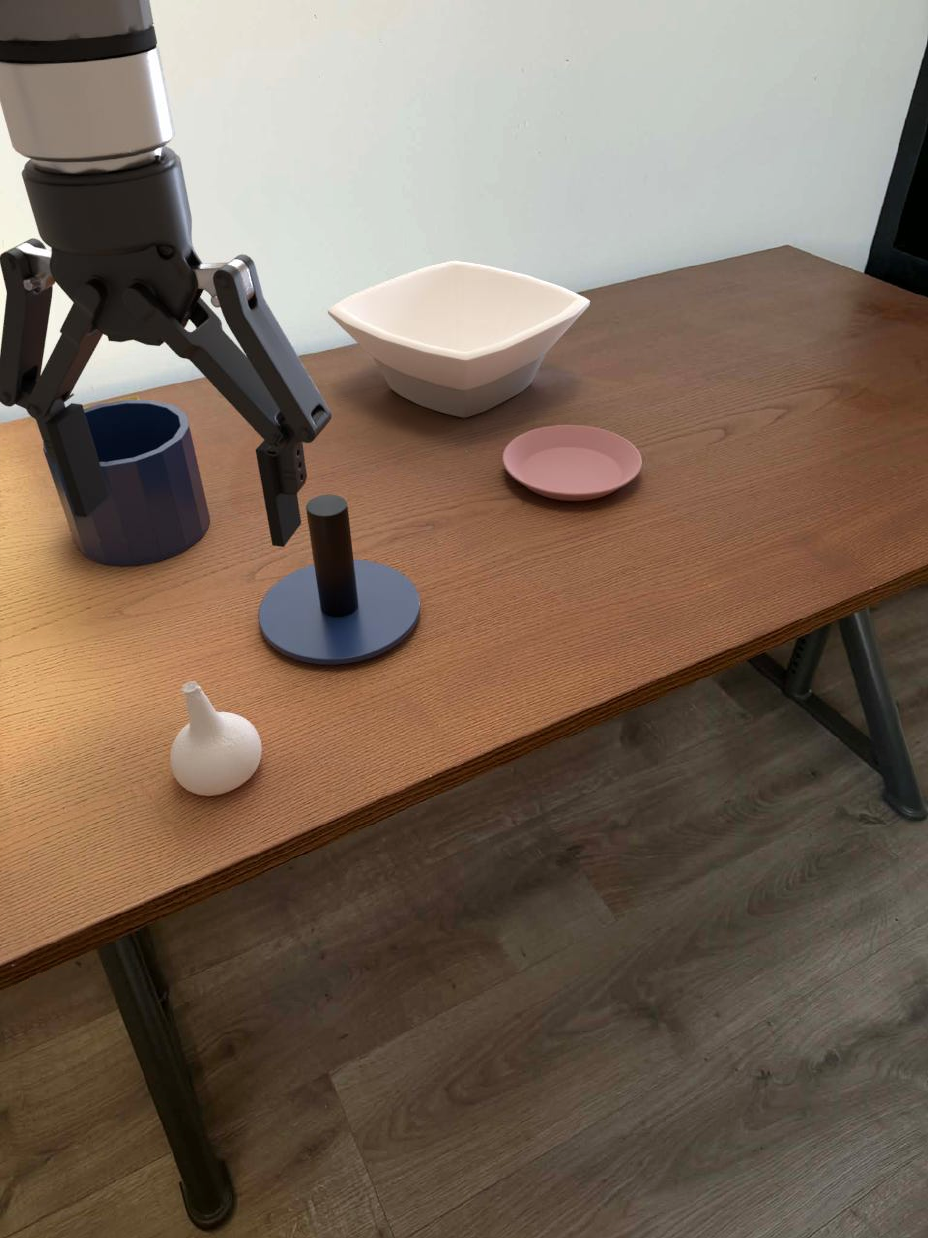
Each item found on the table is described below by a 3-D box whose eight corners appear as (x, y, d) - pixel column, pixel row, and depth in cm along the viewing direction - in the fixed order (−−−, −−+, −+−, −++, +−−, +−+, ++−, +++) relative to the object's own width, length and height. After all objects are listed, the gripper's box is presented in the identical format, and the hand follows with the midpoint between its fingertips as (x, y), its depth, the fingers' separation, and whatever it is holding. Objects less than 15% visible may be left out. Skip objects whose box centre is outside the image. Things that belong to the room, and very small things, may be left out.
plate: (612, 524, 90) (614, 506, 89) (479, 491, 95) (479, 474, 94) (657, 457, 100) (660, 440, 99) (534, 430, 105) (535, 414, 104)
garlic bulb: (257, 803, 64) (238, 720, 59) (166, 805, 64) (138, 722, 59) (270, 736, 69) (253, 654, 64) (185, 738, 69) (162, 656, 64)
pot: (77, 577, 85) (42, 477, 78) (75, 507, 94) (43, 412, 87) (217, 550, 88) (195, 451, 81) (201, 485, 97) (180, 390, 90)
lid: (275, 687, 73) (252, 571, 66) (248, 588, 83) (226, 478, 76) (441, 648, 76) (436, 534, 69) (396, 557, 86) (388, 449, 79)
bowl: (317, 392, 113) (307, 309, 107) (457, 330, 128) (455, 253, 121) (465, 456, 101) (464, 366, 94) (602, 379, 115) (608, 296, 108)
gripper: (366, 145, 46) (394, 513, 59) (-64, 124, 51) (51, 466, 64) (306, 186, 40) (352, 583, 53) (-170, 158, 45) (-20, 525, 59)
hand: (187, 520), depth 59 cm, fingers open, 13 cm apart
